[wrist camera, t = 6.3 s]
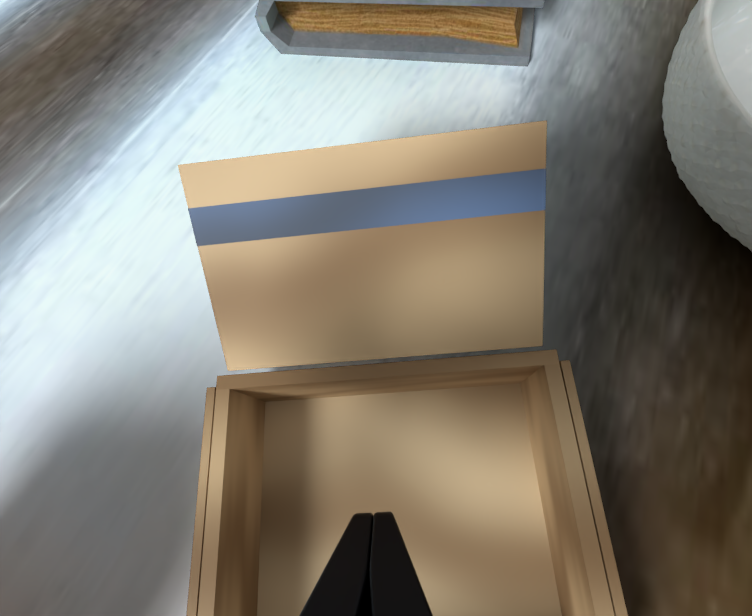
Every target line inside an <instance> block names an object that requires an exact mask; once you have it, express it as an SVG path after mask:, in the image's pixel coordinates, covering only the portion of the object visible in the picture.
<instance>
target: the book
mask: <svg viewBox="0 0 752 616" xmlns="http://www.w3.org/2000/svg"><path fill="white" fill-rule="evenodd" d="M544 2H545V0H259V2H258V6H257V10H256V15H255V18H256V20H257V23H258V26H259V28H260V31H261V32H262V33H263V34H264V36H265V37H266V38H267V39H268V40H269V41H270V42H271V43H272V44H273V45H274V46H275V48H276V49H277V50H278V51H279V52H280V53H281V54H296V55H316V56H335V57H355V58H374V59H394V60H413V61H432V62H452V63H471V64H491V65H510V66H528V62H529V58H530V50H531V40H532V31H533V21H534V12H535V8H543V6H544Z"/></svg>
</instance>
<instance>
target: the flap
mask: <svg viewBox="0 0 752 616" xmlns="http://www.w3.org/2000/svg"><path fill="white" fill-rule="evenodd" d="M546 137H547V121H538V122H530V123H522V124H514V125H505V126H497V127H489V128H480V129H472V130H464V131H456V132H447V133H439V134H431V135H422V136H414V137H406V138H398V139H389V140H381V141H373V142H365V143H356V144H348V145H340V146H331V147H323V148H315V149H307V150H298V151H290V152H282V153H273V154H265V155H257V156H249V157H240V158H232V159H224V160H216V161H207V162H199V163H191V164H182V165H178V168H179V172H180V176H181V180H182V184H183V188H184V192H185V196H186V201H187V205H188V210H189V214H190V218H191V222H192V226H193V231H194V235H195V239H196V243H197V246H198V250H199V254H200V258H201V262H202V266H203V270H204V274H205V279H206V283H207V287H208V291H209V295H210V299H211V303H212V307H213V311H214V316H215V320H216V324H217V328H218V332H219V336H220V340H221V344H222V348H223V352H224V357H225V361H226V365H227V369H228V371H233V370H245V369H258V368H270V367H283V366H296V365H308V364H321V363H334V362H346V361H359V360H371V359H384V358H397V357H409V356H422V355H435V354H447V353H460V352H473V351H485V350H498V349H510V348H523V347H536V346H543V298H544V244H545V203H546Z"/></svg>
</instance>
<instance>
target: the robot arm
mask: <svg viewBox="0 0 752 616" xmlns="http://www.w3.org/2000/svg"><path fill="white" fill-rule="evenodd" d="M299 616H433V614H432V612H431V609H430V607H429V604H428V602H427V599H426V596H425V594H424V591H423V589H422V586H421V584H420V581H419V578H418V576H417V573H416V571H415V568H414V566H413V563H412V560H411V558H410V555H409V553H408V550H407V548H406V545H405V542H404V540H403V537H402V535H401V532H400V530H399V527H398V525H397V522H396V519H395V517H394V514H393V513H392V512H390V511H388V512H376V513H374V515H373V514H372V513H370V512H368V513H356V514H354V515H353V516H352V518H351V520H350V522H349V524H348V526H347V527H346V529H345V531H344V533H343V535H342V537H341V539H340V540H339V542H338V544H337V546H336V548H335V550H334V552H333V553H332V555H331V557H330V559H329V561H328V563H327V565H326V567H325V568H324V570H323V572H322V574H321V576H320V578H319V580H318V581H317V583H316V585H315V587H314V589H313V591H312V593H311V595H310V596H309V598H308V600H307V602H306V604H305V606H304V608H303V609H302V611H301V613H300V615H299Z"/></svg>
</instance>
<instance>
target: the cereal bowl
mask: <svg viewBox="0 0 752 616" xmlns="http://www.w3.org/2000/svg"><path fill="white" fill-rule="evenodd" d="M664 89H665V90H664V95H663V99H662V104H663V114H662V119H663V122H664V129H663V130H664V132H665V134H664V135H665V137H666V139H667V145H668V149H669V151H670V152H671V156H672V161H673V162H674V165H675V166H676V168H677V173H678V174H679V178H680V179H681V180H682V181H683V182H684V183H685V185H686V188H687V189H688V190H689V191H690V193H691V194H692V195H693V196H694V198H695V199H696V200H697V202H698V204H699V205H700V206H701V207H703V208H704V210H705V212H706V213H707V214H709V215H710V217H711V219H712V220H713V221H715V222H716V223H718V224H719V225H720V226H721V227H722V228H723V229H724V230H725V231H726V232H728V233H729V235H730V236H731V237H733V238H735V239H737V240H739V241H740V242H741V244H743V245H744V246H746V247H748V248H749V249H750V251H751V252H752V0H698V2H697V4H696V6H695V7H694V8H693V9H692V11H691V12H690V15H689V17H688V20H687V23H686V25H685V26H684V28H683V29H682V31H681V33H680V37H679V40H678V42H677V44H676V46H675V48H674V50H673V55H672V59H671V61H670V63H669V65H668V73H667V78H666V81H665V84H664Z"/></svg>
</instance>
